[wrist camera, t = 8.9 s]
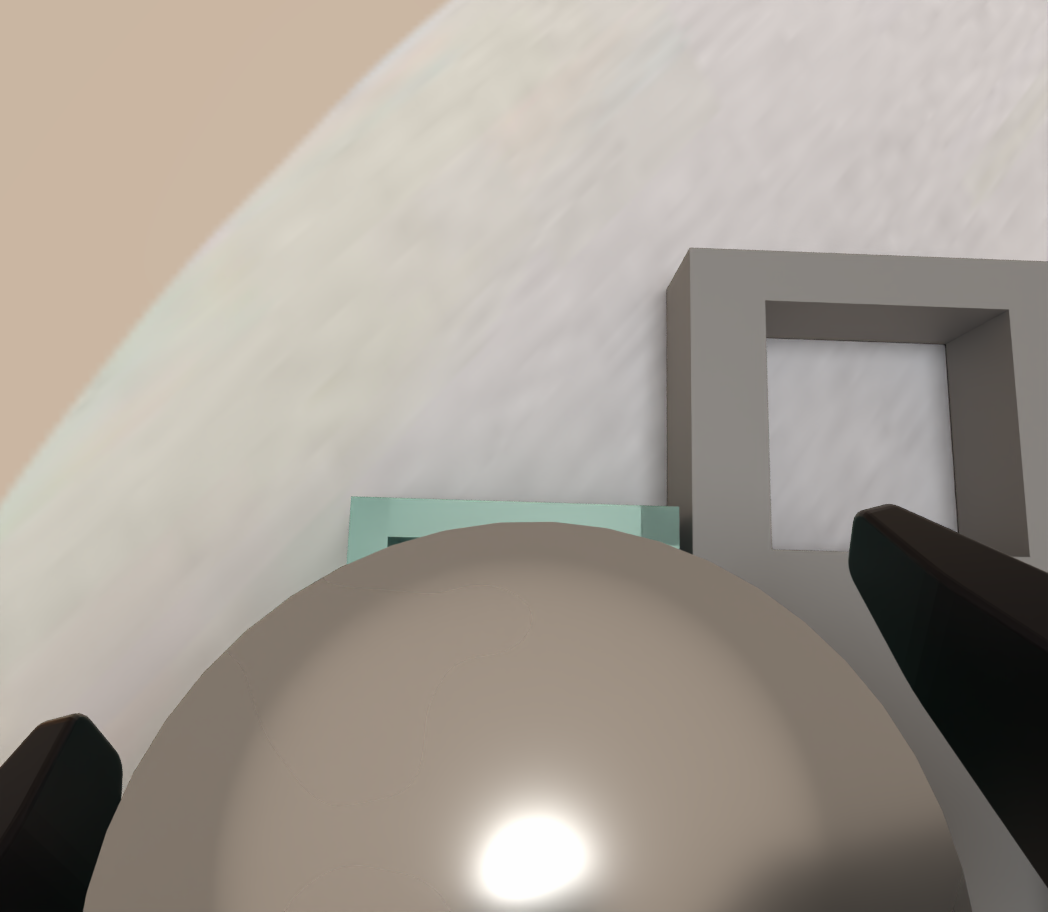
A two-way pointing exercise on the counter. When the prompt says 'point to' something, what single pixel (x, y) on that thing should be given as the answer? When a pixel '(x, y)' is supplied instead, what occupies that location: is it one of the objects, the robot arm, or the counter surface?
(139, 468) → the counter surface
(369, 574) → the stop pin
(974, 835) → the socket plate with bumps
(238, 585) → the counter surface
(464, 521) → the tray
